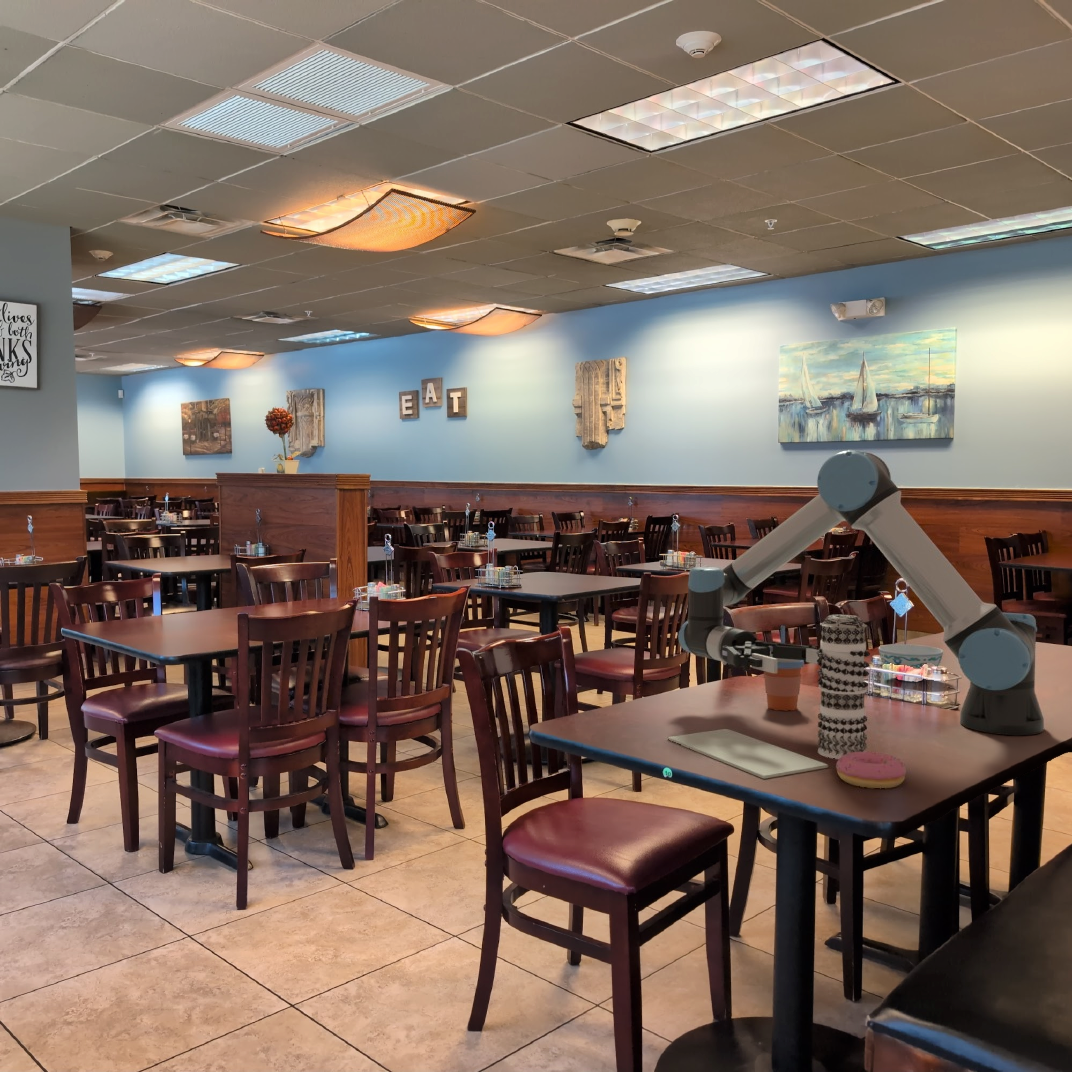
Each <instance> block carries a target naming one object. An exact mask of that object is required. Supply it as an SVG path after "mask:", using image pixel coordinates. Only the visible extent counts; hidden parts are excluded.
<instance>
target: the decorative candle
mask: <svg viewBox="0 0 1072 1072" xmlns="http://www.w3.org/2000/svg"><path fill="white" fill-rule="evenodd" d="M819 625H820V626H821V639H820V647H819V648H818V649H817V650H818V651H817V655H818V657H819V659H817V664H818V666H819V667H820V668H819V669H818V670H817V675H818V677H819V678H818V679H817V684H818V690H820V691H821V692H820V704H819V713H818V715H817V719H818V720H820V721H818V722H817V727H818V728H820V729H819V730H818V731H817V738H818V740H817V746H818V749H817V754H819V755H820V756H823V757H825V758H828V757H829V758H828V759H833V758H835V759H834V760H839V759H840V758H841V757H842V756H843V755H845V754H848V753H852V752H856V751H857V752H866V751H865V750H867V748H868V745H867V742H866V741H867V740H868V737H867V734H866V733H865V731H866V730H867V729H868V727H867V725H866V722H867V721H868V717H867V716H866V705H865V693H867V692H868V688H867V687H868V686H869V684H868V682H866V681H865V679H864V677H865V678H866V677H867V676H869V674H870V673H869V671H867V670H866V668H869V667H870V663H869V662H867V661H866V660H865V658H867V657H869V656H871V653H870V651H868V650H867V641H866V627H868V625H867V624H865V623H864V622H863V620H862V618H861V617H860V616H857V615H853V614H852V615H851V614H830V615H828V616H826V618H825V619H824V621H823V622H820V623H819ZM817 664H816V665H817Z"/></svg>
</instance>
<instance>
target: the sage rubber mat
mask: <svg viewBox="0 0 1072 1072" xmlns="http://www.w3.org/2000/svg"><path fill="white" fill-rule="evenodd" d="M668 739H669V740H671V741H670V742H672V741H674V742H676V743H675V744H677V743H679V744H681V745H680V746H683V747H684V748H687V749H689V748H690V750H692V751H695V752H697V753H699V754H702V755H705V756H707V757H709V758H712V759H715V760H716V761H719V762H721V763H723V764H727V765H729V766H732V767H734V768H737V769H739V770H742V771H744V772H746V773H748V774H751V775H753V776H756V777H759V778H761V779H770V778H777V777H781V776H786V775H787V776H788V775H792V774H793V775H794V774H799V773H804V772H805V773H806V772H810V771H816V770H821V769H826V768H829V764H828V763H825V762H822V761H819V760H816V759H813V758H811V757H807V756H804V755H802V754H799V753H797V752H793V751H791V750H788V749H785V748H782V747H779V746H777V745H774V744H771V743H768V742H765V741H762V740H760V739H757V738H754V737H752V736H748V735H746V734H742V733H739V732H738V731H734V730H731V729H729V728H721V729H717V730H709V731H708V730H707V731H701V732H694V733H688V734H680V735H674V736H668V737H667V740H668ZM669 740H668V741H669ZM674 742H673V743H674ZM679 744H678V745H679Z"/></svg>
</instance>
